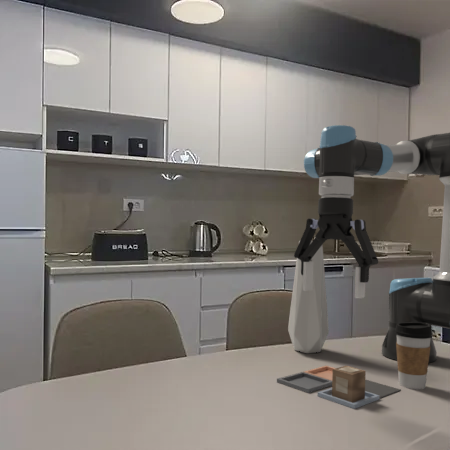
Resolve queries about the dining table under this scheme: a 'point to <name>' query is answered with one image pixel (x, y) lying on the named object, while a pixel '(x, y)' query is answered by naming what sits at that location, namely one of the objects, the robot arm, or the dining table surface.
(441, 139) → the robot arm
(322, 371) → the tray terracotta
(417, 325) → the coffee cup
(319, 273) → the vase
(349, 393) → the letter block
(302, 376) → the tray charcoal
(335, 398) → the tray slate
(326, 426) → the dining table surface
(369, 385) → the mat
